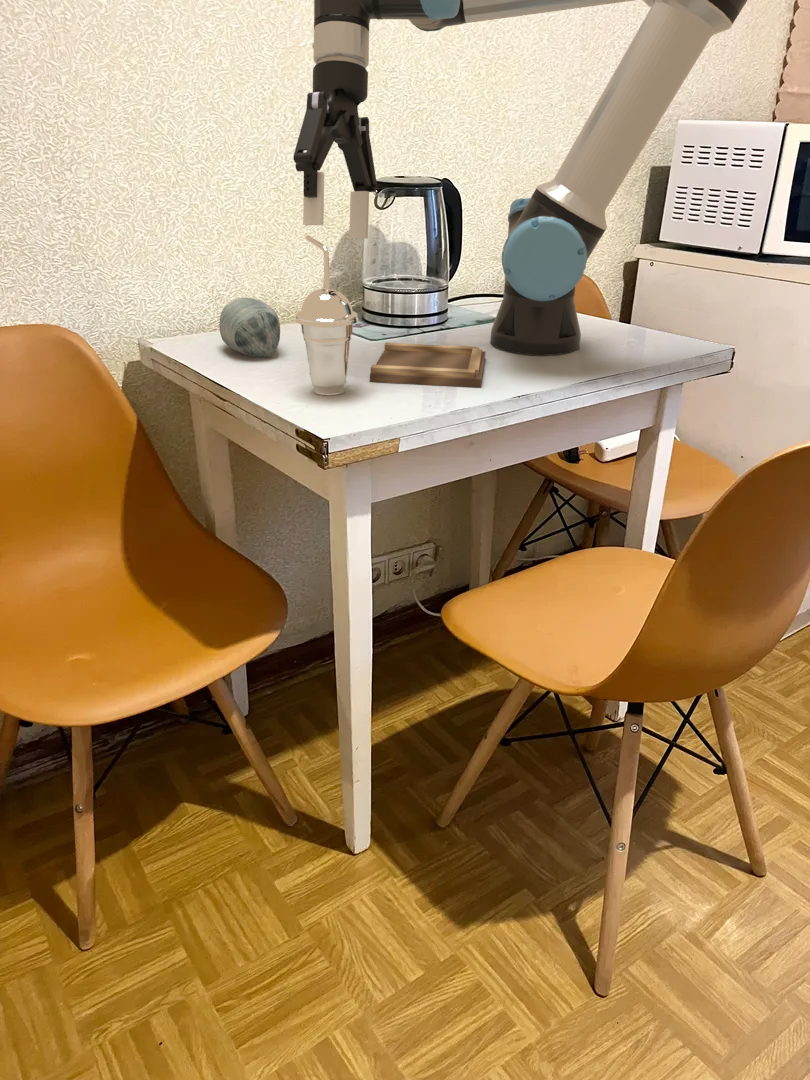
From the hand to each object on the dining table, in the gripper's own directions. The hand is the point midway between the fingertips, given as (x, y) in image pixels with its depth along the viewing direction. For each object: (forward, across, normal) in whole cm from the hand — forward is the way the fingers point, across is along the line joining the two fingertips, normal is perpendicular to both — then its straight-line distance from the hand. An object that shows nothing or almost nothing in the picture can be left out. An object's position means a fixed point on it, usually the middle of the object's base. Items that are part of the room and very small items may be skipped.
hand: (337, 232), depth 116 cm
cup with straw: (+22, +6, +3) cm, 23 cm away
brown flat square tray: (+19, -9, +12) cm, 24 cm away
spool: (+18, -6, -19) cm, 27 cm away
